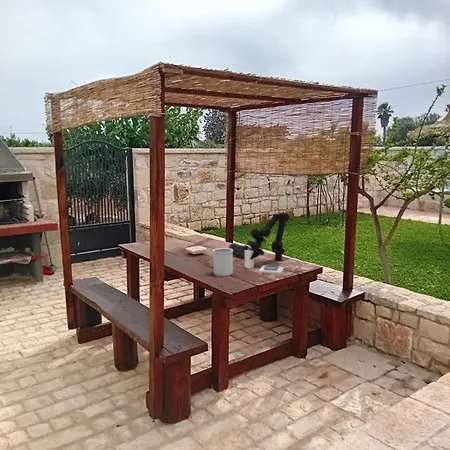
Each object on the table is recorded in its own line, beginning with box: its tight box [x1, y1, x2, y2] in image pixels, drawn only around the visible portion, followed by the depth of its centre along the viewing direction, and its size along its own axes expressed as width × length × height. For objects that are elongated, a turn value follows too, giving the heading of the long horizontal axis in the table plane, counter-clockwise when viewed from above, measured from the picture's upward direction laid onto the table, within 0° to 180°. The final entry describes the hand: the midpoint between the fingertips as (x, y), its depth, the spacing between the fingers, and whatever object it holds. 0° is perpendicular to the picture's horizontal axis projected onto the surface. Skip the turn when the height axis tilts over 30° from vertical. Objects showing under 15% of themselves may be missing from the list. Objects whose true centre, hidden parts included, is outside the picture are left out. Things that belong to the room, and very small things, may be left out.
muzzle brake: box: [228, 242, 245, 259], centre depth 362 cm, size 10×28×10 cm, turn 32°
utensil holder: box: [212, 247, 234, 277], centre depth 311 cm, size 15×15×18 cm
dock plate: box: [258, 264, 285, 275], centre depth 319 cm, size 16×16×3 cm
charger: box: [244, 250, 255, 269], centre depth 329 cm, size 5×5×13 cm
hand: (247, 259), depth 328 cm, fingers closed on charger, 5 cm apart
